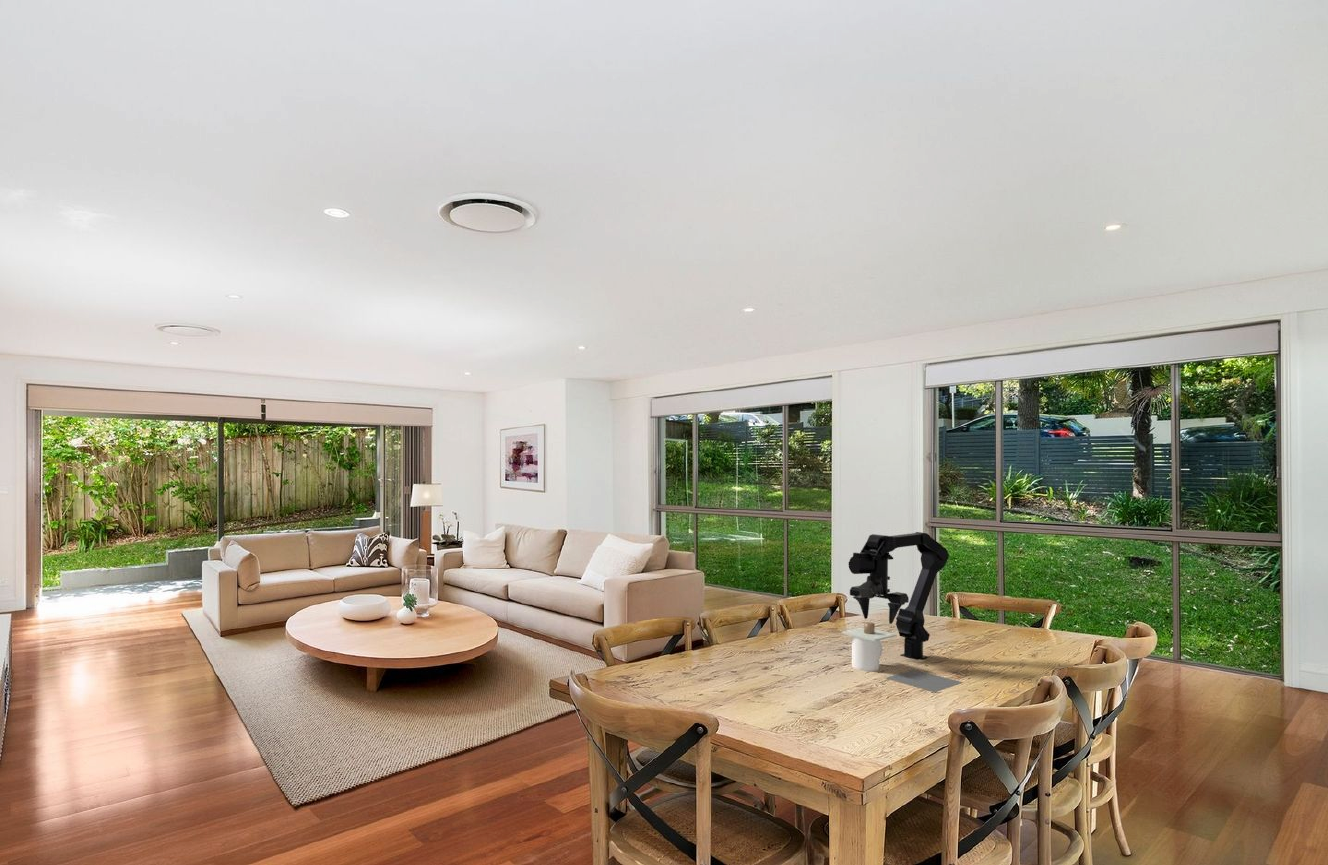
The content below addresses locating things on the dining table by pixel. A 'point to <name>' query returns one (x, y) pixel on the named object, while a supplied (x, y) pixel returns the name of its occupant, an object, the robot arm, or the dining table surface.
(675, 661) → the dining table surface
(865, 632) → the panel
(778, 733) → the dining table surface
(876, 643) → the mug
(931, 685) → the mat
